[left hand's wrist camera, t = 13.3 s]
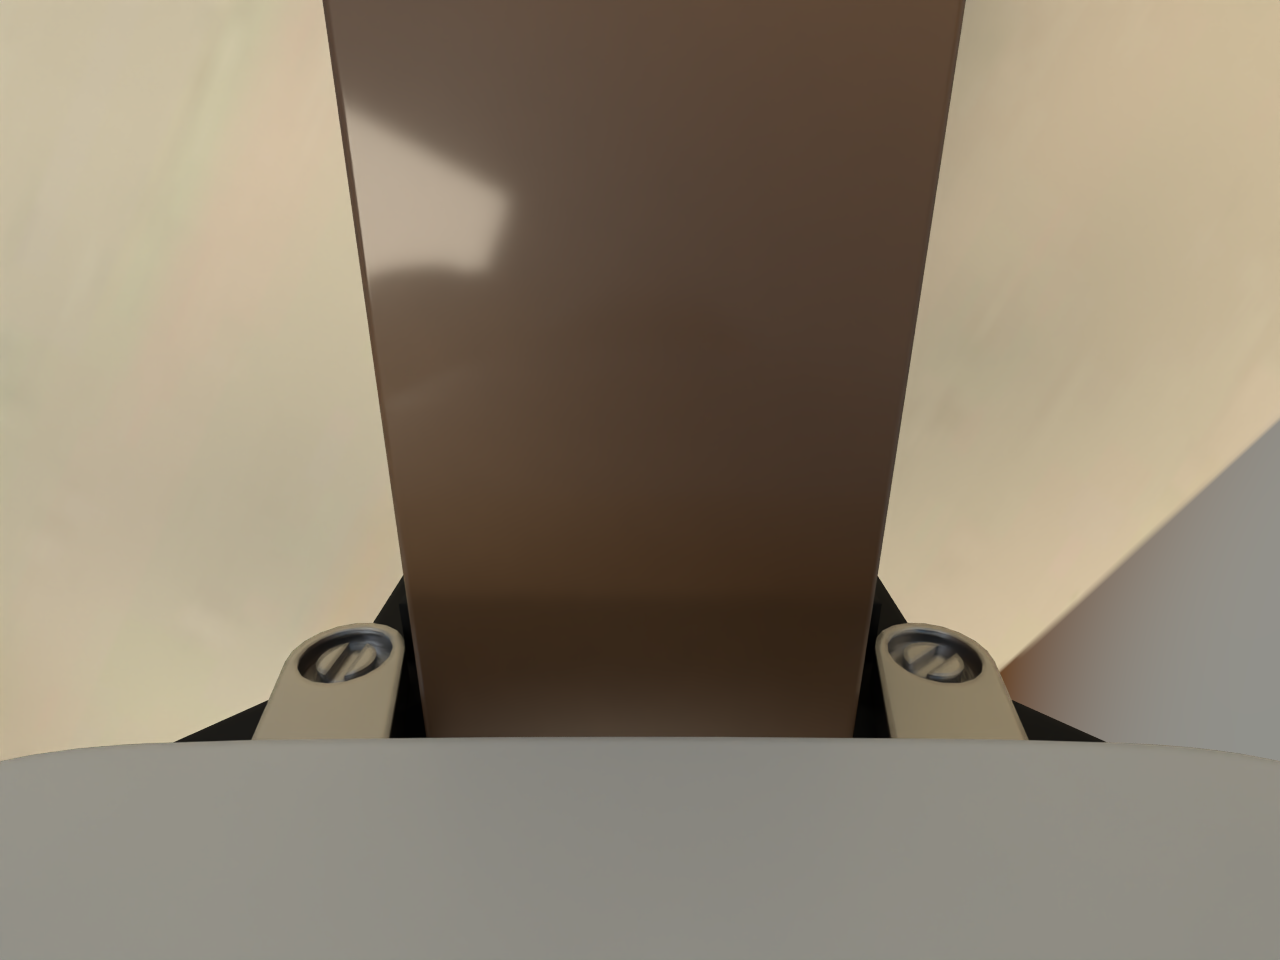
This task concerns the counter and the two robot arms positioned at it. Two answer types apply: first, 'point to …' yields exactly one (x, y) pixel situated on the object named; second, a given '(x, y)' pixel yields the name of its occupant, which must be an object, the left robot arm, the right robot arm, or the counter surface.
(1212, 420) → the counter surface
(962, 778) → the left robot arm
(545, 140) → the beam
